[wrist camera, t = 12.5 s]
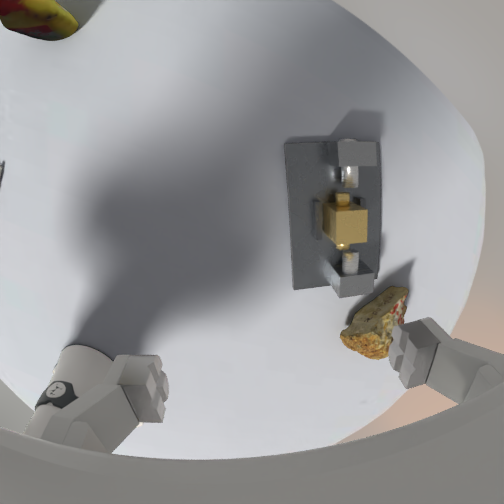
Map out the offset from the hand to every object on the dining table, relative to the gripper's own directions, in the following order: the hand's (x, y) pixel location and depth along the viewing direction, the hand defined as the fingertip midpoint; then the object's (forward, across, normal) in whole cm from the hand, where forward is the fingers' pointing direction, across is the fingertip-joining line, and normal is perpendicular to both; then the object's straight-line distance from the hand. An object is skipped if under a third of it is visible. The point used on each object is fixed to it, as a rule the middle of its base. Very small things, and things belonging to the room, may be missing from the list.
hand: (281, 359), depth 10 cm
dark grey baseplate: (+31, +12, -3) cm, 33 cm away
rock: (+31, +19, -20) cm, 42 cm away
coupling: (+30, +12, -3) cm, 33 cm away
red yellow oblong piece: (+31, -26, +32) cm, 52 cm away
